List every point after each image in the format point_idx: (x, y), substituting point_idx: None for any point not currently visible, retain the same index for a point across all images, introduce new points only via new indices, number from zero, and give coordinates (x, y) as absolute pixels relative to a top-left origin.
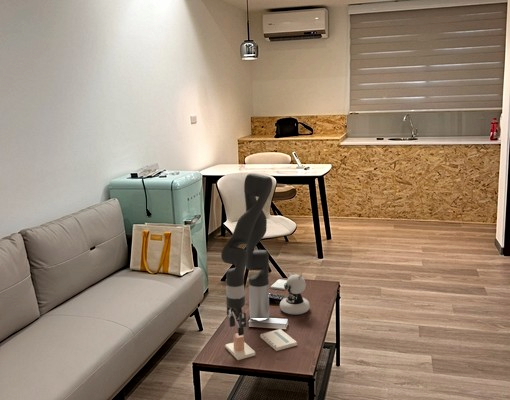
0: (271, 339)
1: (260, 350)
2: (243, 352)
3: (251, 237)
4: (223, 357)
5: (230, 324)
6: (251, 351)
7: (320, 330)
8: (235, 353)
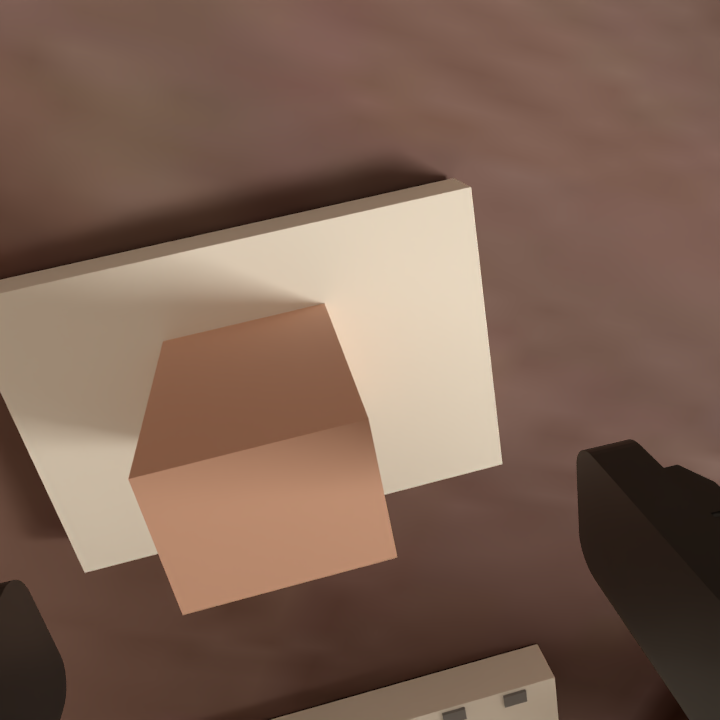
0: None
1: (220, 607)
2: (109, 418)
3: None
4: (134, 63)
5: (618, 491)
6: (114, 529)
7: None
8: (98, 290)
